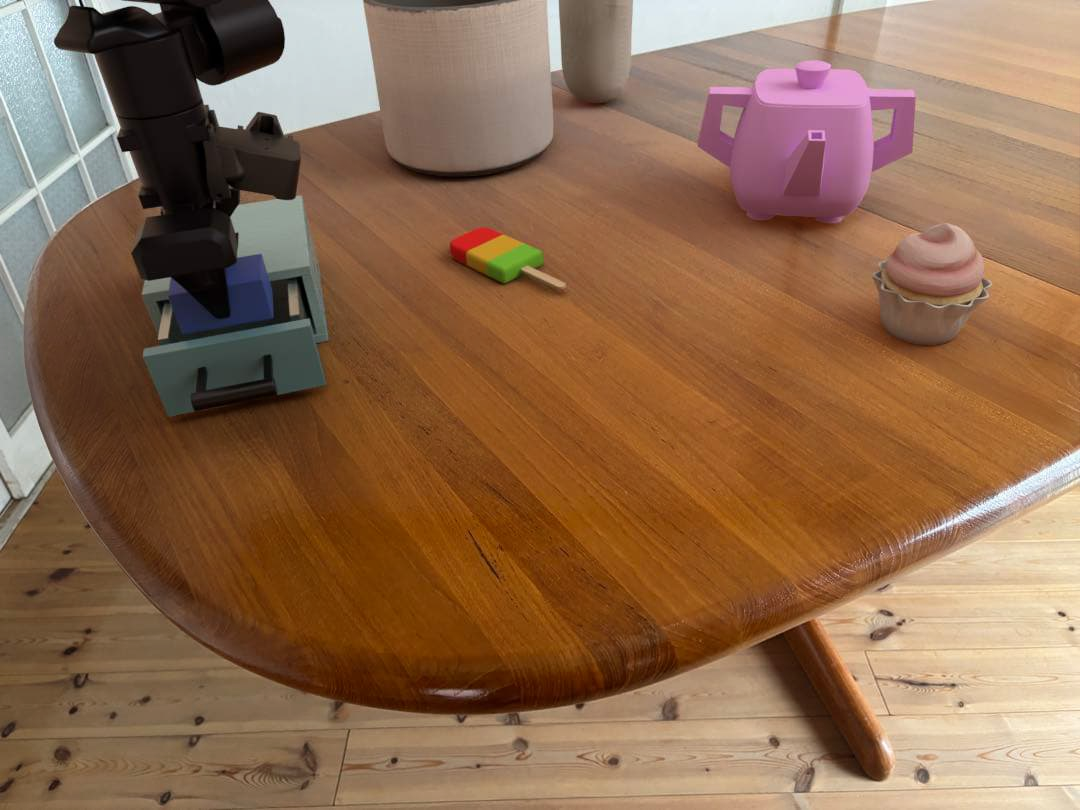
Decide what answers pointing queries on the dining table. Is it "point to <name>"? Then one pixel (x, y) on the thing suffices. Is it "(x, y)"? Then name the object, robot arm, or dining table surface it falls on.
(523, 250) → the popsicle
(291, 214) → the cabinet
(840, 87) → the teapot
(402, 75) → the planter
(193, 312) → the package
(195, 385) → the drawer
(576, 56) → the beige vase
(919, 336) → the cupcake
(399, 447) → the dining table surface
